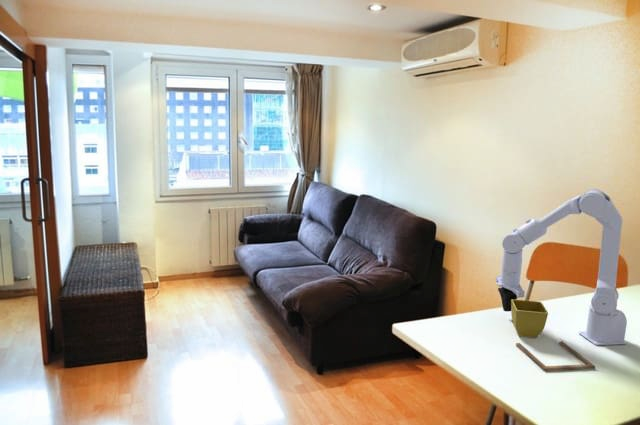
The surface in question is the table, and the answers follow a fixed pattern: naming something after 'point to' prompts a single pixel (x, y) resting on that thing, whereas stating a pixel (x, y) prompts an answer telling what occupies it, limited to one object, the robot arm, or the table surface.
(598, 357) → the table surface
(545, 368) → the brown wooden open-sided frame
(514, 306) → the flower pot
